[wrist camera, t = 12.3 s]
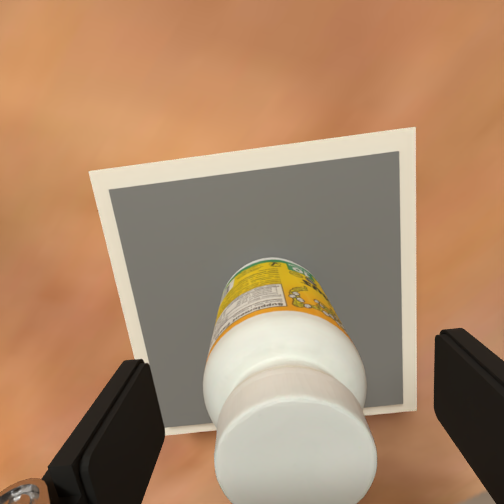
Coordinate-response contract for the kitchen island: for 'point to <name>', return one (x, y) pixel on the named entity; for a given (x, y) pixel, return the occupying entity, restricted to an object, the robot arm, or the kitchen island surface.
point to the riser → (267, 253)
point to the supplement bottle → (286, 393)
